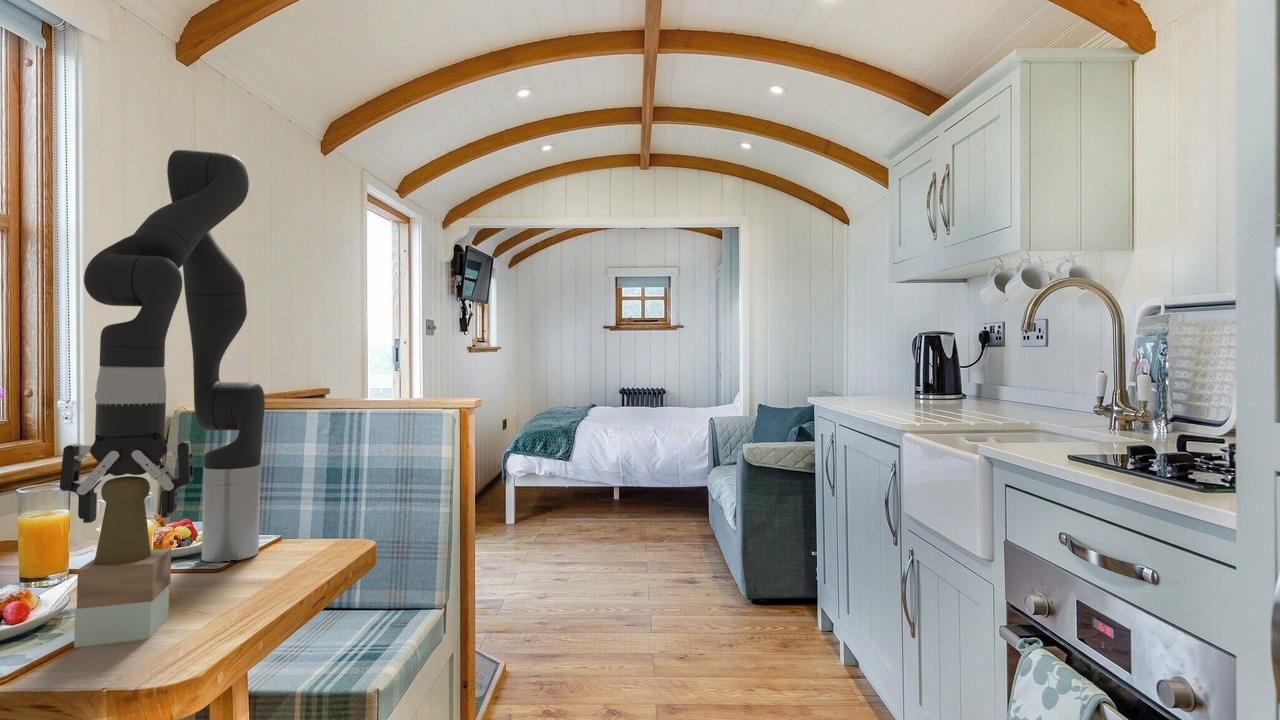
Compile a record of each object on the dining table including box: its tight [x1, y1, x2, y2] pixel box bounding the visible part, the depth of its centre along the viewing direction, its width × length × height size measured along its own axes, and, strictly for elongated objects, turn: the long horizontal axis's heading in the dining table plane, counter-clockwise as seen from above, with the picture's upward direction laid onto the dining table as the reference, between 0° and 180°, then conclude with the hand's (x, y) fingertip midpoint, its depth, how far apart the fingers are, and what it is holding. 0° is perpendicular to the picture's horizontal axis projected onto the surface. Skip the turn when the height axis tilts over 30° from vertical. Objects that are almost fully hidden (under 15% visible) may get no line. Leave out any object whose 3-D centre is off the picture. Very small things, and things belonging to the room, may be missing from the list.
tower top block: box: [76, 547, 172, 609], centre depth 88 cm, size 8×8×5 cm
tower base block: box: [73, 584, 170, 648], centre depth 88 cm, size 8×8×5 cm
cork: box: [94, 475, 152, 564], centre depth 88 cm, size 6×6×11 cm
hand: (128, 519), depth 88 cm, fingers open, 8 cm apart
